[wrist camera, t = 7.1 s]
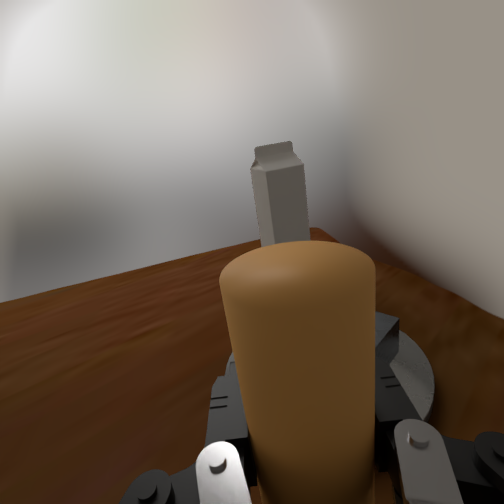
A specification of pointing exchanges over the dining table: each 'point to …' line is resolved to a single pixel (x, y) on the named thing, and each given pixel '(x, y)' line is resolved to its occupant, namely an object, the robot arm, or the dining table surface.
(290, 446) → the pin
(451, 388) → the dining table surface
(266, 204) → the milk
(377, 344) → the square frame on disc
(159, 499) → the robot arm
